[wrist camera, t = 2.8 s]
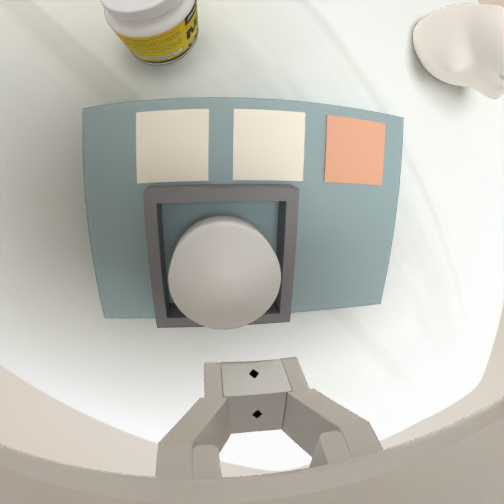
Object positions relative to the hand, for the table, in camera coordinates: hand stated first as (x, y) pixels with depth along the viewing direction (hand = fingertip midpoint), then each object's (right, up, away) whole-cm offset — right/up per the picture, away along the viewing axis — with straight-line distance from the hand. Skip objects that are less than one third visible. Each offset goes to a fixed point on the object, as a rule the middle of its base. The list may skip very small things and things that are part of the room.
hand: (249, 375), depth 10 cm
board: (0, +7, +11) cm, 13 cm away
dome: (-2, +4, +10) cm, 11 cm away
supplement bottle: (-6, +18, +6) cm, 20 cm away
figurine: (+16, +21, +9) cm, 28 cm away
